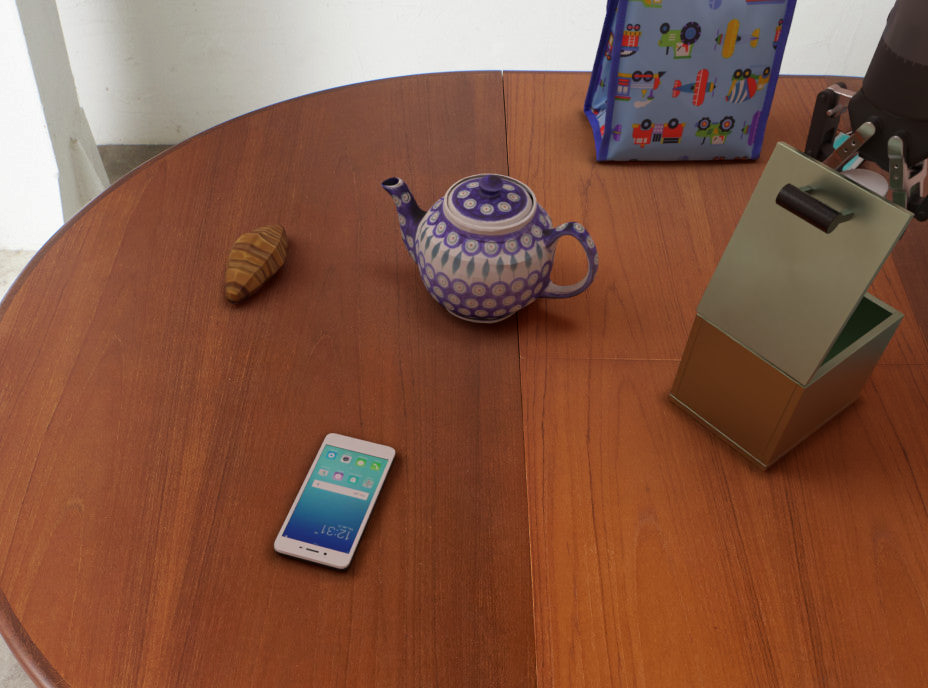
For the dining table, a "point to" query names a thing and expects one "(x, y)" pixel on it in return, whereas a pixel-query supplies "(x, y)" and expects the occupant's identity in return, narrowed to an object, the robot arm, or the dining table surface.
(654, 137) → the lunch bag
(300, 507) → the smartphone
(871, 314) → the waste bin
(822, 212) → the bin lid
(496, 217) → the teapot
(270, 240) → the croissant
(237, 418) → the dining table surface
